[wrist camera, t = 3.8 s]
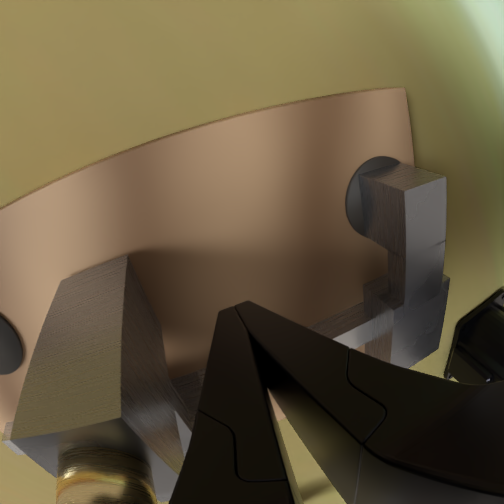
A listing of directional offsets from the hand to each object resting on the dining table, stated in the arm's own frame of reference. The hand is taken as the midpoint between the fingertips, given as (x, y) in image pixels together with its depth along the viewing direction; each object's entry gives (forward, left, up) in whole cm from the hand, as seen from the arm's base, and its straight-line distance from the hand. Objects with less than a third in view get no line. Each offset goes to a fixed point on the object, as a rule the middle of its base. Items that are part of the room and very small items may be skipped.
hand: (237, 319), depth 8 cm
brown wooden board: (+2, +3, -4) cm, 5 cm away
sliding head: (+4, +3, -3) cm, 5 cm away
